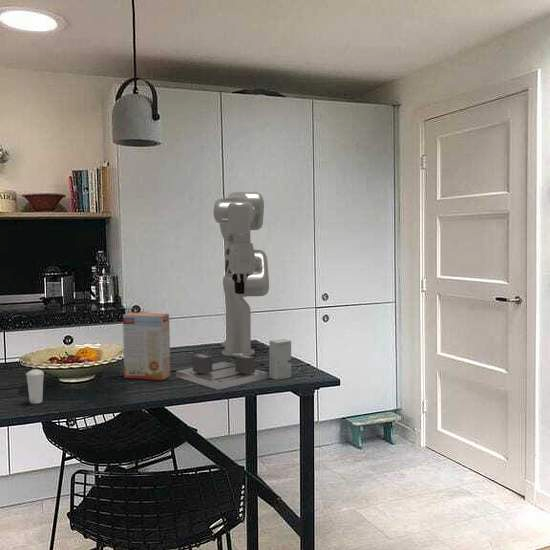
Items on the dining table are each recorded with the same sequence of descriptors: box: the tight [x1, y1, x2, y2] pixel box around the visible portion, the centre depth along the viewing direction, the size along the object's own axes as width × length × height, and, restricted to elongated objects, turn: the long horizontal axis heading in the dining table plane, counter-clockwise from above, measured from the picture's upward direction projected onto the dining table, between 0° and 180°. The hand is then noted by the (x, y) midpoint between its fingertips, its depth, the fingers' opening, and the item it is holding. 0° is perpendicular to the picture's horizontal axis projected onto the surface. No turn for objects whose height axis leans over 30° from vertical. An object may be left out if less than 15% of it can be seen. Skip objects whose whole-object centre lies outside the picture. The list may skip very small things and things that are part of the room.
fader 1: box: [192, 353, 213, 374], centre depth 197 cm, size 5×4×5 cm
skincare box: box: [268, 338, 292, 381], centre depth 198 cm, size 6×4×12 cm
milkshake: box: [25, 368, 45, 405], centre depth 171 cm, size 4×5×10 cm
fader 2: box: [234, 355, 256, 374], centre depth 196 cm, size 5×4×5 cm
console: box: [175, 361, 268, 391], centre depth 199 cm, size 22×20×2 cm
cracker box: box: [122, 312, 171, 381], centre depth 199 cm, size 14×6×21 cm, turn 72°
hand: (239, 293), depth 208 cm, fingers closed
